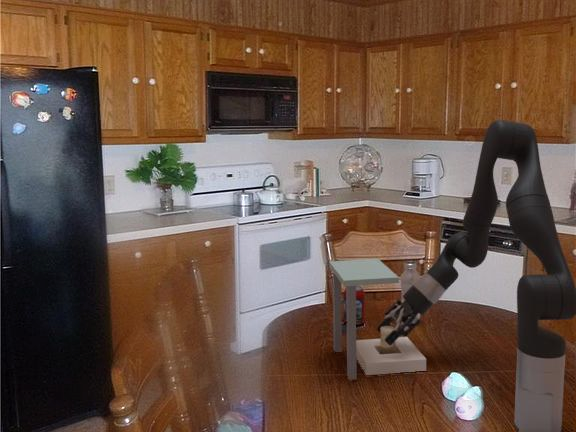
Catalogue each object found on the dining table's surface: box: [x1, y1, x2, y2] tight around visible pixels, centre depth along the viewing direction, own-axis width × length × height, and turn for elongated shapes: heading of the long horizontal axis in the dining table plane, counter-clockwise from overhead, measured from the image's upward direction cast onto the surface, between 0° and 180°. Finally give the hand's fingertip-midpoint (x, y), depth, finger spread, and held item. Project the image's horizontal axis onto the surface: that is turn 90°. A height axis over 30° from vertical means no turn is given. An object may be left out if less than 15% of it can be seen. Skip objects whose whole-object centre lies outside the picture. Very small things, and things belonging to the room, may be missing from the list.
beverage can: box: [343, 285, 366, 324], centre depth 189 cm, size 7×7×12 cm
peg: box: [379, 325, 396, 355], centre depth 159 cm, size 4×4×10 cm
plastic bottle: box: [399, 260, 421, 324], centre depth 187 cm, size 6×7×20 cm
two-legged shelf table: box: [328, 258, 400, 380], centre depth 156 cm, size 14×20×26 cm
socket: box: [356, 336, 427, 376], centre depth 159 cm, size 16×16×4 cm
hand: (382, 337), depth 158 cm, fingers open, 8 cm apart
